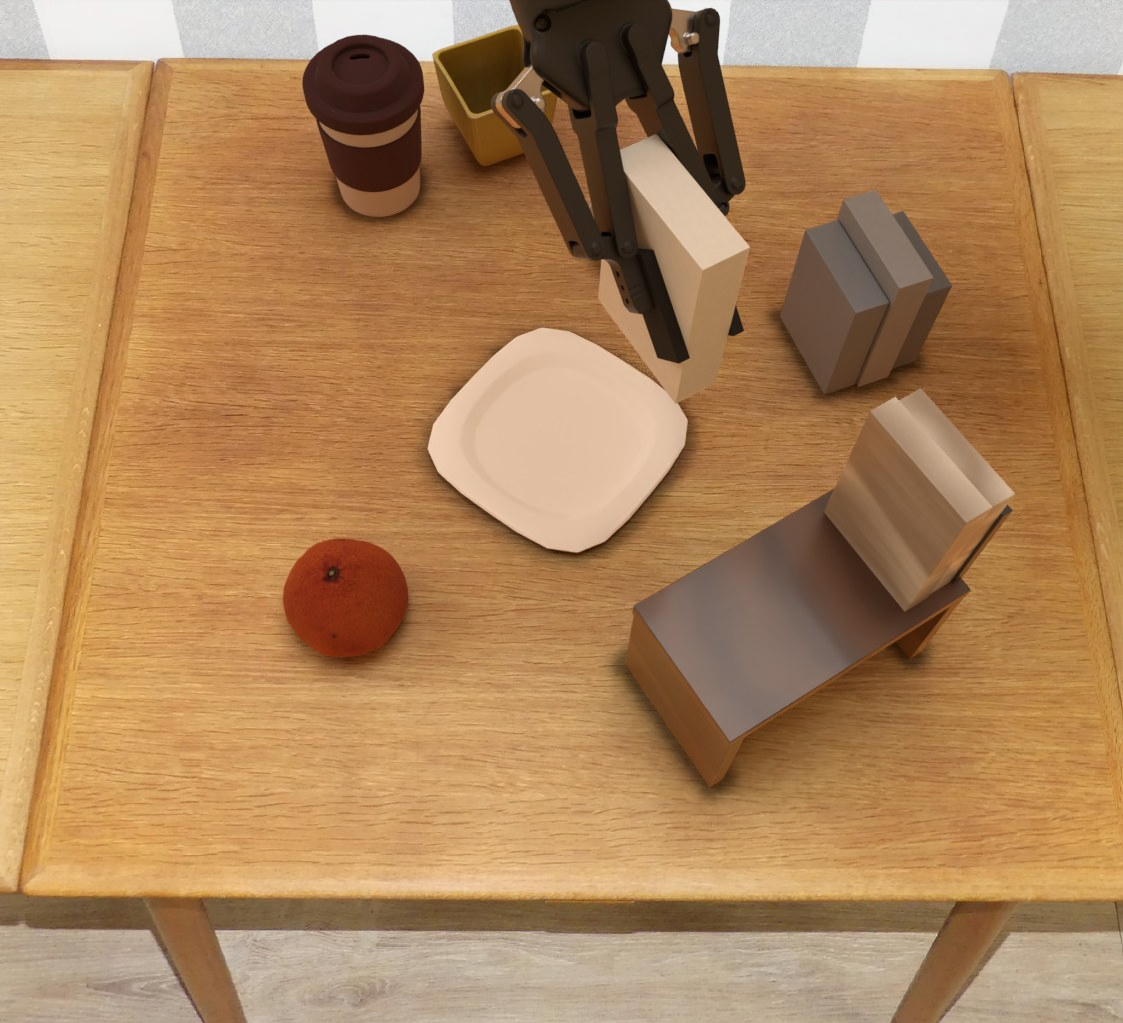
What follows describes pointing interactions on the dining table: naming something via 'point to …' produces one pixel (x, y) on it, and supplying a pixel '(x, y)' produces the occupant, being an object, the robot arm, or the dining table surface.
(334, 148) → the coffee cup
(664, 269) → the white book
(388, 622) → the fruit
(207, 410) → the dining table surface
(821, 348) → the grey books
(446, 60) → the flower pot
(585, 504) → the plate
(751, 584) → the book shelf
